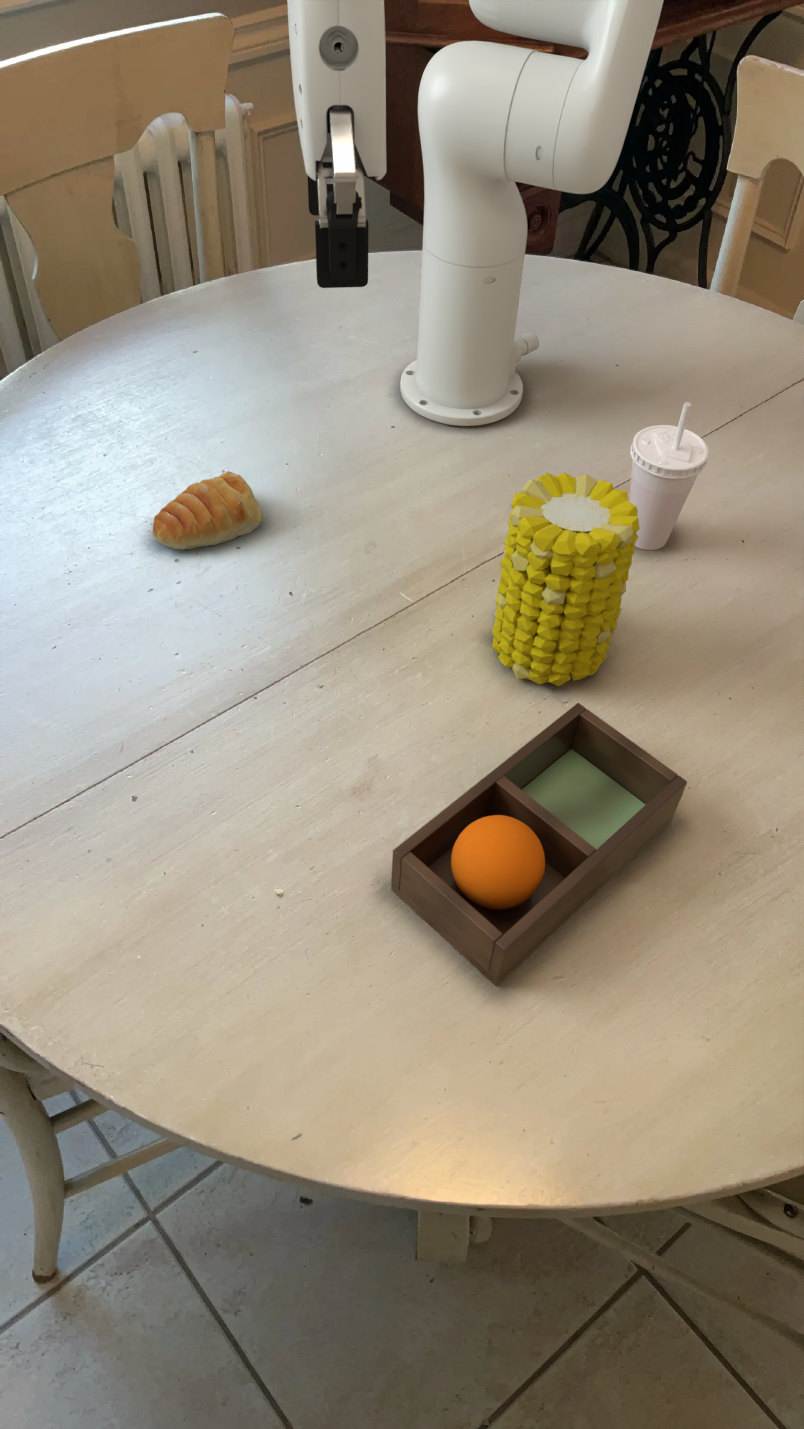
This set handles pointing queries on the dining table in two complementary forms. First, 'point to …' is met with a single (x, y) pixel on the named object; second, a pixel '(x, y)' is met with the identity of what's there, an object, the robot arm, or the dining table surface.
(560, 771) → the tray
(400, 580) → the dining table surface
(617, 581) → the food
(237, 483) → the pastry
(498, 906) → the clementine
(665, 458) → the smoothie
